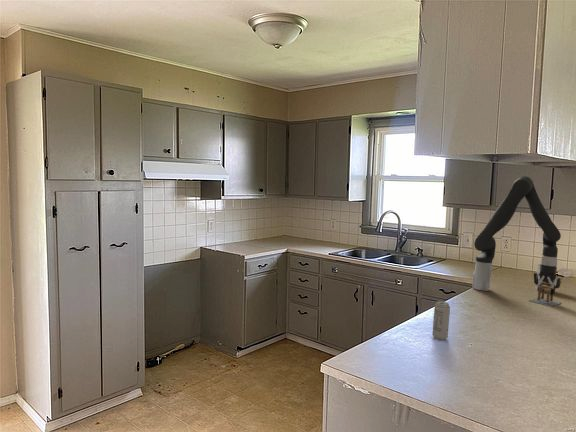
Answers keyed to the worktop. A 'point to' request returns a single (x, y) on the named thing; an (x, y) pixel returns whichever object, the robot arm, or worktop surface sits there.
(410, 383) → the worktop surface
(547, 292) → the stool
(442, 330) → the energy drink can
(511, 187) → the robot arm
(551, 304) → the mat
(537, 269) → the coffee box
